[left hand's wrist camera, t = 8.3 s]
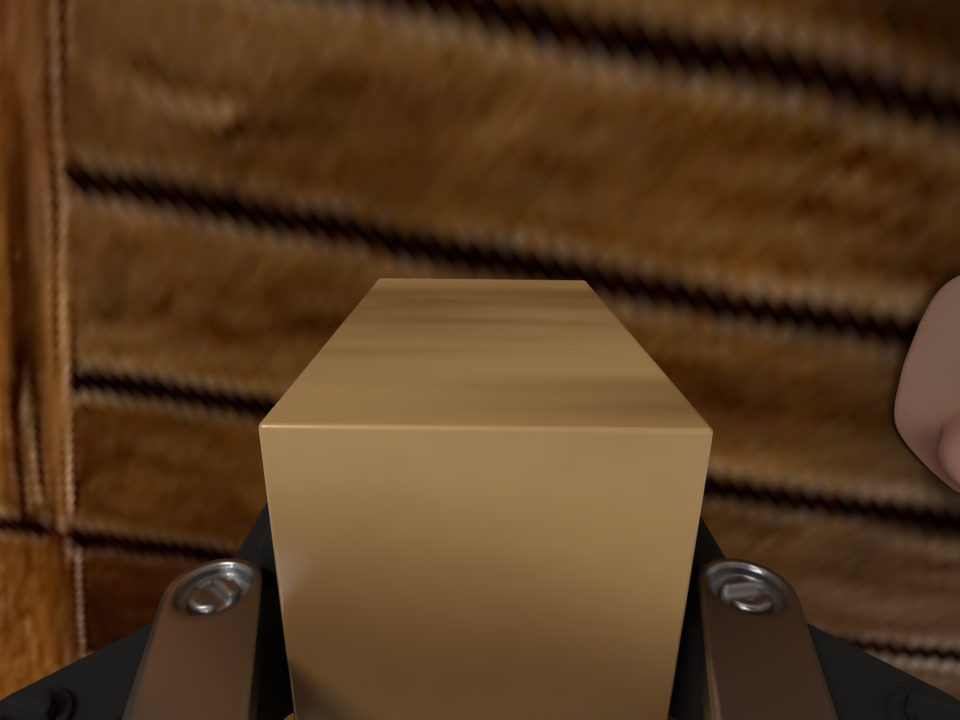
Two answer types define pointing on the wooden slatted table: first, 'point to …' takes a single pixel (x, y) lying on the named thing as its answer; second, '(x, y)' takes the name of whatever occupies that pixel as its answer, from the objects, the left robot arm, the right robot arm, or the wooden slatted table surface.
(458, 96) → the wooden slatted table surface
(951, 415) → the anatomical model
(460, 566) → the bar
